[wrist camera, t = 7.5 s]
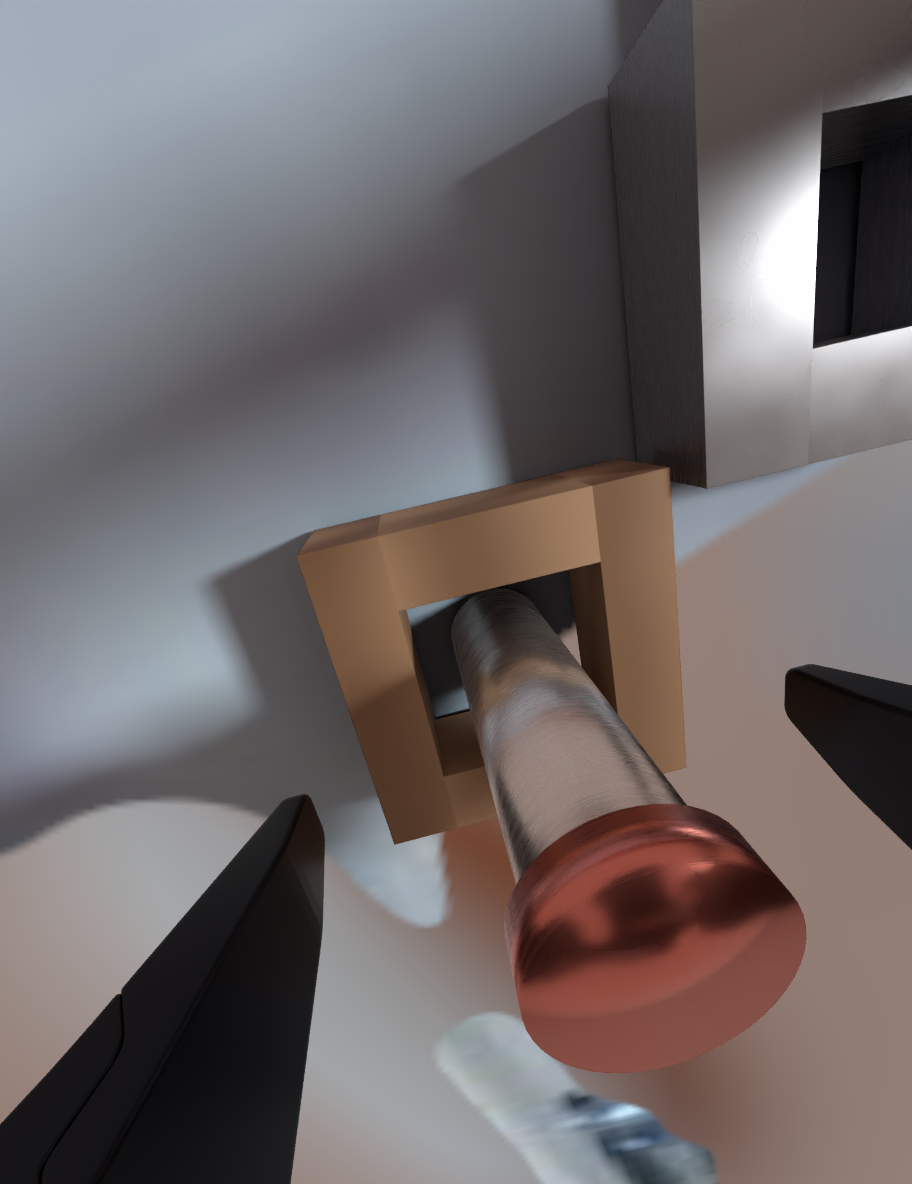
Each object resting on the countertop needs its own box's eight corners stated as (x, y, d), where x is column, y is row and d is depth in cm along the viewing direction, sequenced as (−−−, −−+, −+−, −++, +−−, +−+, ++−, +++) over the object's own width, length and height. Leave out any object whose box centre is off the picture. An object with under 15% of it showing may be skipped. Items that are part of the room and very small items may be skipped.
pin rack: (618, 459, 13) (669, 467, 10) (641, 714, 15) (686, 767, 13) (314, 530, 12) (296, 555, 10) (394, 778, 15) (394, 844, 13)
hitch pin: (542, 566, 13) (813, 829, 5) (558, 666, 14) (800, 1028, 6) (429, 593, 13) (495, 915, 5) (453, 693, 14) (543, 1102, 6)
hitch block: (1010, -359, 9) (1308, -734, 6) (921, 406, 13) (1065, 402, 10) (578, -287, 8) (672, -646, 6) (638, 473, 13) (706, 488, 10)
